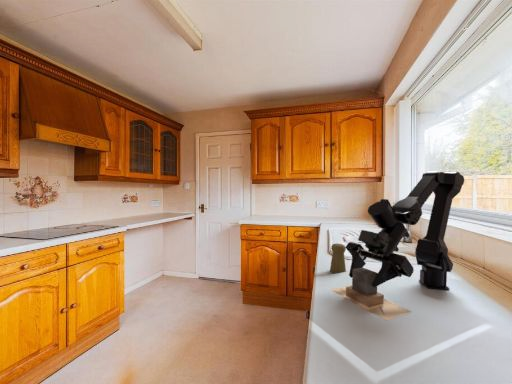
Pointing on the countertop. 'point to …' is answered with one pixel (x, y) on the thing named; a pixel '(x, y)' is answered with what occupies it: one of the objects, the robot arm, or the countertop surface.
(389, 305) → the pine board
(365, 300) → the sanding block
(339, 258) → the cork
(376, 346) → the countertop surface
